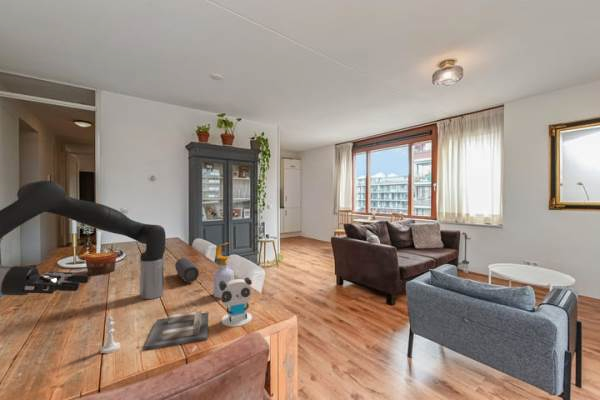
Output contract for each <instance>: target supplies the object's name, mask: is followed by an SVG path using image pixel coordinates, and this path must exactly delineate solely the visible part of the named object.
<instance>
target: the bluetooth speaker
mask: <svg viewBox="0 0 600 400" xmlns="http://www.w3.org/2000/svg"><path fill="white" fill-rule="evenodd" d="M174 265H175V266H174V267H175V271H176V272H177V275H178V276H179V277H180V278H181V279H182V280H183V281H184V282H186V283H193V282H195V281H196V280H197V279H198V277H199V275H200V273H199V272H200V271H199V269H198V267H197V266H196V264H195V263H193V262H192V261H191V260H190V259H189V258H186V257H181V258H178V260H177V261H176V262H175V264H174Z"/></svg>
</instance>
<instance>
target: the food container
mask: <svg viewBox="0 0 600 400" xmlns="http://www.w3.org/2000/svg"><path fill="white" fill-rule="evenodd" d="M117 257H118V253H116V252H114V251H109V252H108V251H107V252H106V251H104V252H97V253H92V254H88V255H86V256H85V257H84V259H83V260H84V261H85V264H86V271H87V274H88V276H101V275H100V274H103V275H106V273H108V274H111V273H113V272H114V271H115V270H116V262H117ZM110 272H111V273H110Z"/></svg>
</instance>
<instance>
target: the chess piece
mask: <svg viewBox="0 0 600 400" xmlns="http://www.w3.org/2000/svg"><path fill="white" fill-rule="evenodd" d="M113 320H114V318H112V316H109V317H108V318H107V319H106V322H107V321H108V322H107V323H105V325H106V328H107V330H106V332H105V333H106V334H107V342H106V343H105V344H104V345H103V346H102V347H101V348H100V351H99V352H100V353H101V354H102V353H107V354H111V353H114V352H116V351H117V349H118V350H119V349H120V348H121V343H120V342H118V341H114V336H113V332H115V328H113V327H114V324H115V321H113ZM115 350H116V351H115ZM110 352H111V353H110Z"/></svg>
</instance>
